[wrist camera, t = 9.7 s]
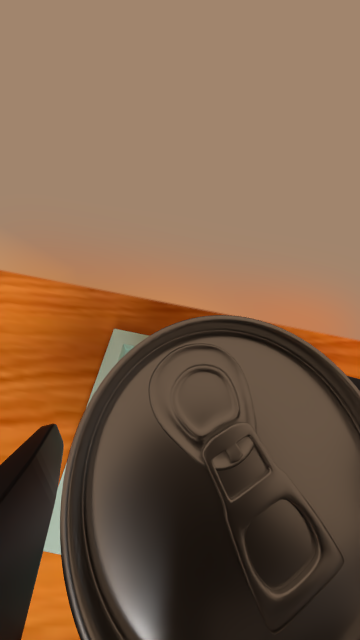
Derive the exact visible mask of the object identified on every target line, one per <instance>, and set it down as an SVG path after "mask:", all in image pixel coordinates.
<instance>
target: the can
mask: <svg viewBox="0 0 360 640" xmlns="http://www.w3.org/2000/svg"><path fill="white" fill-rule="evenodd" d="M60 545H61V558H62V567H63V574H64V580H65V586H66V591H67V596H68V600H69V604H70V608H71V611H72V615H73V618H74V622H75V625H76V628H77V631H78V634H79V636H80V639H81V640H360V391H359V390H358V388H357V387H356V386H355V385H354V384H353V382H352V381H351V380H350V379H349V378H348V377H347V376H346V375H345V374H344V373H343V372H342V371H341V370H340V369H339V368H338V367H337V366H336V365H335V364H334V363H333V362H332V361H331V360H330V359H329V358H327V357H326V356H325V355H324V354H323V353H321V352H320V351H319V350H317V349H316V348H315V347H313V346H312V345H310V344H309V343H307V342H306V341H304V340H303V339H301V338H299V337H297V336H296V335H294V334H292V333H290V332H288V331H286V330H284V329H282V328H279V327H277V326H274V325H272V324H269V323H266V322H263V321H259V320H255V319H251V318H246V317H239V316H229V315H215V316H203V317H197V318H192V319H188V320H184V321H181V322H178V323H175V324H172V325H170V326H168V327H165V328H163V329H161V330H159V331H157V332H155V333H154V334H152V335H150V336H149V337H147V338H146V339H144V340H143V341H141V342H140V343H139V344H137V345H136V346H135V347H133V348H132V349H131V350H130V351H129V352H128V353H127V354H126V355H124V356H123V357H122V358H121V359H120V360H119V361H118V362H117V364H116V365H115V366H114V367H113V368H112V369H111V371H110V372H109V373H108V374H107V376H106V377H105V378H104V380H103V381H102V382H101V384H100V385H99V387H98V388H97V390H96V392H95V393H94V395H93V397H92V398H91V400H90V402H89V404H88V406H87V408H86V410H85V412H84V414H83V416H82V418H81V421H80V423H79V425H78V428H77V431H76V433H75V436H74V439H73V442H72V446H71V449H70V453H69V456H68V461H67V465H66V470H65V475H64V481H63V488H62V496H61V509H60Z"/></svg>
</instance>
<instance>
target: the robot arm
mask: <svg viewBox="0 0 360 640" xmlns="http://www.w3.org/2000/svg"><path fill="white" fill-rule="evenodd" d="M347 377H348V378H349V379H350V380H351V381H352V382H353V384H354V385H355V386H356V387H357V388H358V390H359V391H360V379H357V378H353V377H349V376H347ZM62 455H63V440H62V438H61V435H60V433H59V430H58V427H57V425H56V424H50V425H46V426H42V427H40V428H39V429H38V430H37V431H36V432H35V433H34V434H33V435H32V436H31V437H30V438H29V439H28V440H26V441H25V442H24V443H23V444H22V445H21V446H20V447H19V448H18V449H17V450H16V451H15V452H14V453H13V454H12V455H10V456H9V457H8V458H7V459H6V460H5V461H4V462H3V463H2V464H1V465H0V640H21V637H22V633H23V629H24V625H25V621H26V617H27V613H28V609H29V605H30V601H31V597H32V593H33V589H34V585H35V581H36V577H37V573H38V569H39V565H40V561H41V557H42V553H43V549H44V545H45V541H46V537H47V533H48V529H49V525H50V521H51V517H52V513H53V509H54V505H55V500H56V495H57V489H58V482H59V475H60V468H61V461H62Z"/></svg>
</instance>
